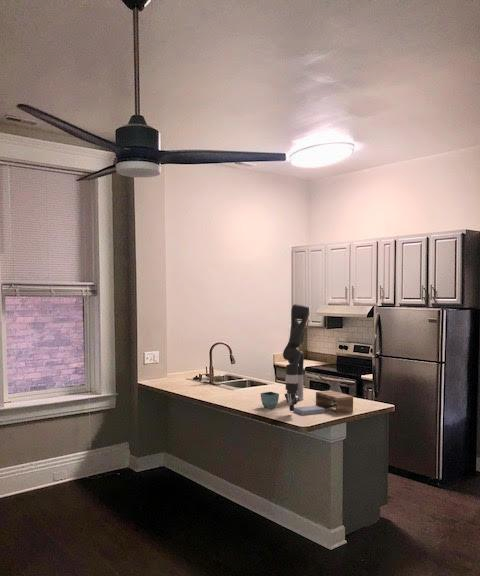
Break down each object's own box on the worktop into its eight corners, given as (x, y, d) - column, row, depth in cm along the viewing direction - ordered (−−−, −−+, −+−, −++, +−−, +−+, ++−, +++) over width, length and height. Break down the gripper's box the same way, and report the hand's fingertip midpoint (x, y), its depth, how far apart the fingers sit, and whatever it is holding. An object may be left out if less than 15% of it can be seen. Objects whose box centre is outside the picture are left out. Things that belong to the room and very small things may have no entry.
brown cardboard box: (315, 406, 321) (315, 391, 321) (330, 404, 327) (330, 390, 327) (337, 413, 302) (337, 397, 302) (353, 411, 307) (353, 396, 308)
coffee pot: (347, 401, 339) (347, 379, 339) (335, 403, 332) (335, 380, 332) (323, 396, 356) (324, 375, 356) (312, 398, 349) (312, 376, 349)
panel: (293, 412, 307) (293, 407, 307) (315, 410, 313) (315, 405, 313) (302, 416, 298) (302, 410, 298) (324, 413, 304) (324, 408, 304)
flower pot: (268, 409, 312) (268, 395, 312) (259, 407, 319) (260, 393, 319) (279, 407, 317) (279, 393, 317) (270, 405, 324) (270, 391, 324)
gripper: (280, 380, 304) (280, 409, 303) (292, 383, 292) (292, 413, 292) (290, 379, 307) (290, 408, 307) (303, 383, 296) (303, 412, 295)
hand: (291, 410), depth 299 cm, fingers closed
